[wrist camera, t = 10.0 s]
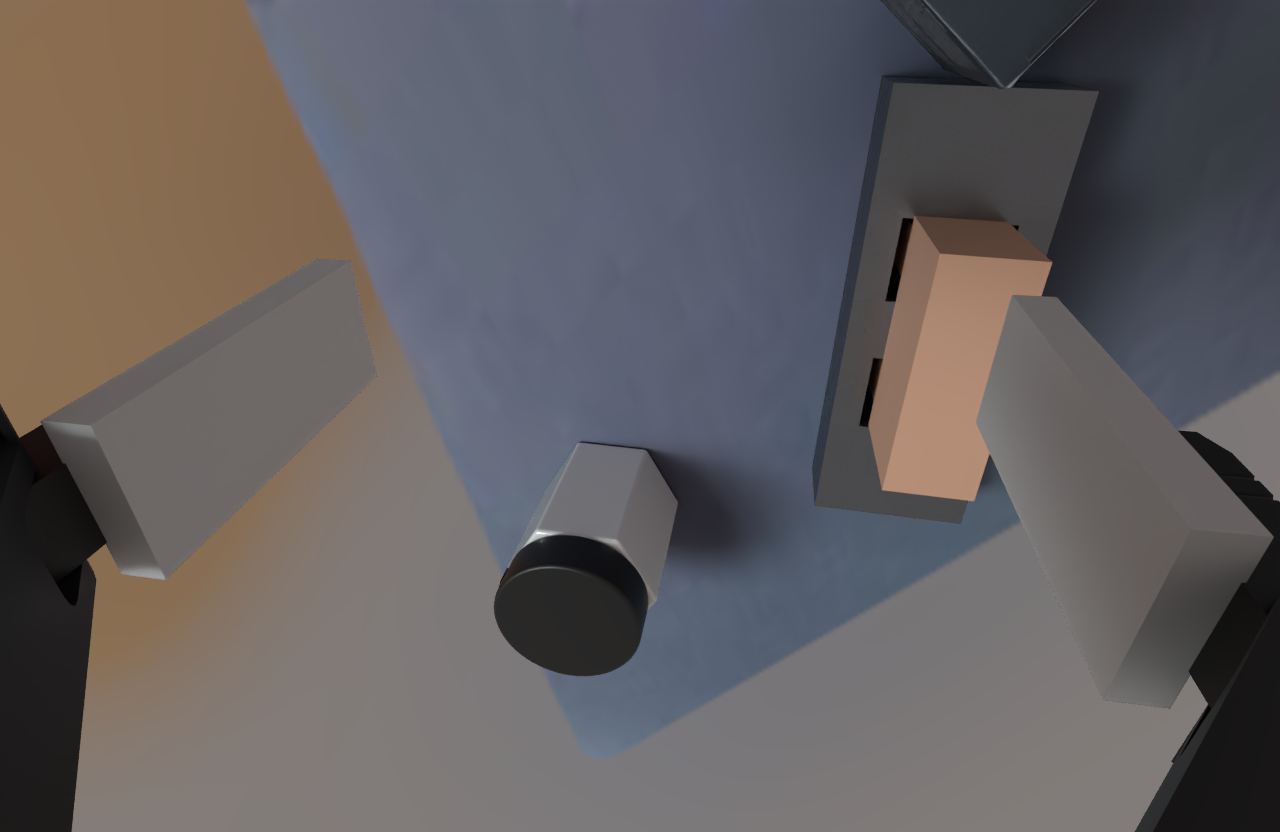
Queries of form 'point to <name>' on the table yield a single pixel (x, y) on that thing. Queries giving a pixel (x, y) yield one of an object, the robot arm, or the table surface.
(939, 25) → the box
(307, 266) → the robot arm
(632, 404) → the table surface
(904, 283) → the orange tan block
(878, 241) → the grey slotted block
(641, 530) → the jar
